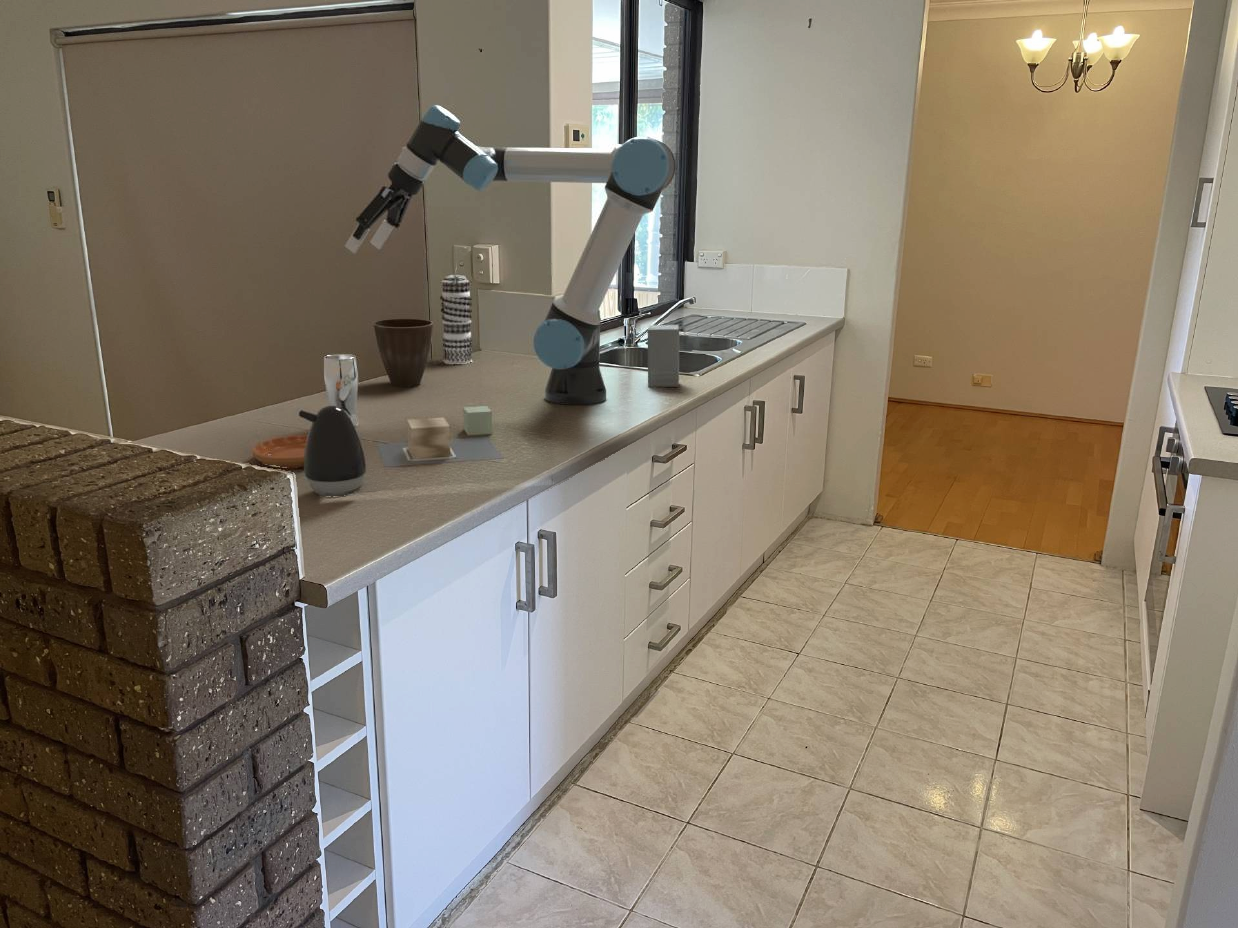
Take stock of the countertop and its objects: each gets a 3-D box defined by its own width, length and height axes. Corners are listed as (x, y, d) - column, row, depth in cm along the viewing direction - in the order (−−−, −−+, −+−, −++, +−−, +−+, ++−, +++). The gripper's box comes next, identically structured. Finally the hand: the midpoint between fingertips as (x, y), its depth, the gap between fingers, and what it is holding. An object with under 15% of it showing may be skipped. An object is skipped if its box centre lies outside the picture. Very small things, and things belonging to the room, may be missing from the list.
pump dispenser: (311, 483, 167) (305, 399, 162) (372, 483, 167) (367, 399, 163) (297, 502, 157) (290, 413, 152) (362, 501, 158) (356, 413, 153)
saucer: (255, 475, 171) (254, 459, 170) (250, 452, 185) (249, 438, 184) (346, 467, 177) (345, 451, 176) (335, 445, 191) (334, 431, 190)
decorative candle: (455, 366, 273) (453, 278, 265) (435, 361, 278) (432, 275, 271) (480, 362, 279) (478, 276, 272) (460, 358, 285) (457, 273, 278)
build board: (487, 442, 194) (487, 436, 194) (503, 464, 180) (503, 457, 180) (377, 450, 188) (376, 443, 187) (385, 473, 173) (384, 466, 173)
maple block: (444, 447, 186) (443, 417, 184) (450, 456, 180) (449, 426, 178) (408, 449, 184) (407, 419, 182) (412, 459, 178) (411, 428, 176)
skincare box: (678, 383, 256) (681, 324, 251) (677, 388, 249) (680, 328, 244) (647, 382, 256) (649, 323, 252) (645, 387, 250) (647, 327, 245)
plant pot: (444, 386, 246) (442, 324, 242) (389, 392, 238) (386, 328, 234) (421, 376, 258) (419, 317, 253) (368, 381, 250) (364, 320, 245)
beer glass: (367, 423, 208) (363, 355, 204) (348, 430, 202) (344, 360, 197) (340, 419, 210) (335, 352, 206) (321, 427, 204) (316, 358, 200)
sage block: (487, 433, 202) (486, 406, 200) (492, 439, 197) (491, 411, 195) (464, 435, 200) (463, 407, 198) (468, 441, 196) (467, 412, 194)
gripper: (417, 162, 225) (372, 234, 231) (374, 159, 201) (325, 240, 208) (443, 181, 225) (396, 254, 232) (402, 181, 201) (352, 262, 208)
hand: (362, 248), depth 220 cm, fingers open, 13 cm apart
